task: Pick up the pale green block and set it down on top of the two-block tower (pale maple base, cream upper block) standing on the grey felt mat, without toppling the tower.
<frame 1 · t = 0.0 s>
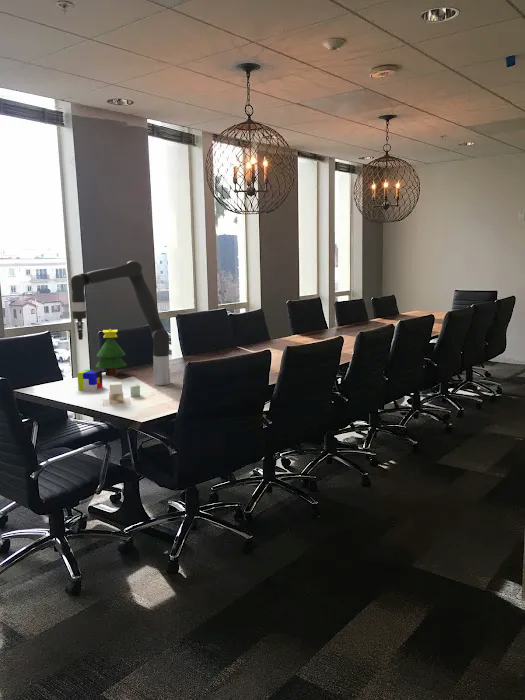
hand: (80, 338, 337), 29 cm above the table, fingers open, 8 cm apart
decorative tree: (111, 375, 380), on the table
tower base: (116, 397, 310), on the felt mat, touching tower mid
pale green block: (135, 396, 323), on the table
tower mid: (116, 392, 309), point 5 cm above the table, touching tower base
felt mat: (116, 402, 310), on the table
puzzle toy: (90, 388, 343), on the table
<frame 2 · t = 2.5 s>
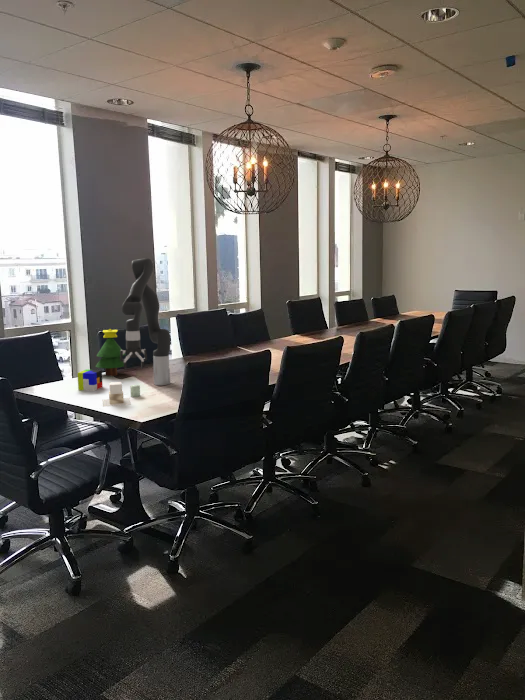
hand: (133, 368, 321), 16 cm above the table, fingers open, 8 cm apart
nothing on the table moved.
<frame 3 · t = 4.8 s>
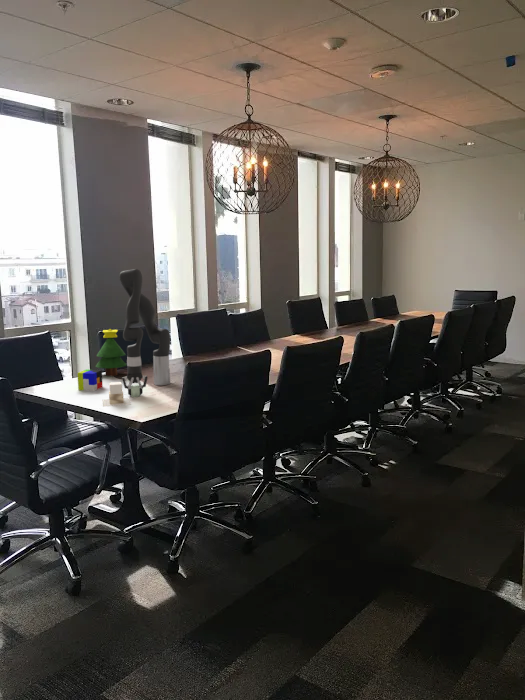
hand: (135, 395, 323), 1 cm above the table, fingers closed on pale green block, 5 cm apart
pale green block: (135, 396, 323), on the table, touching gripper
everything else where it was.
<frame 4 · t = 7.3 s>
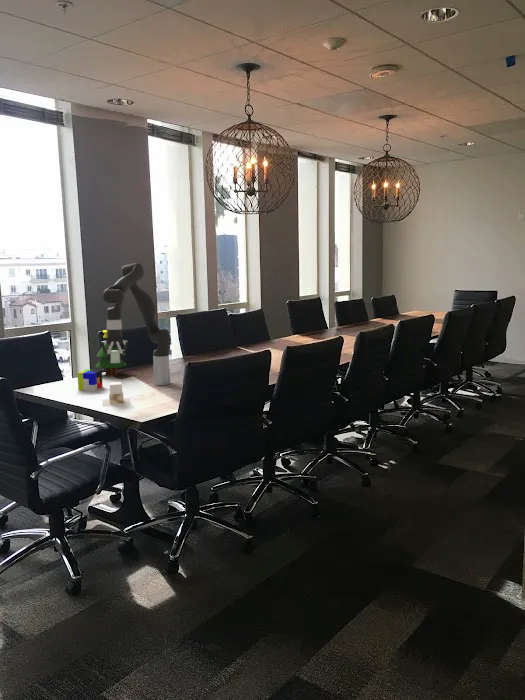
hand: (115, 360, 307), 22 cm above the table, fingers closed on pale green block, 5 cm apart
pale green block: (115, 362, 308), point 21 cm above the table, touching gripper
everything else where it was.
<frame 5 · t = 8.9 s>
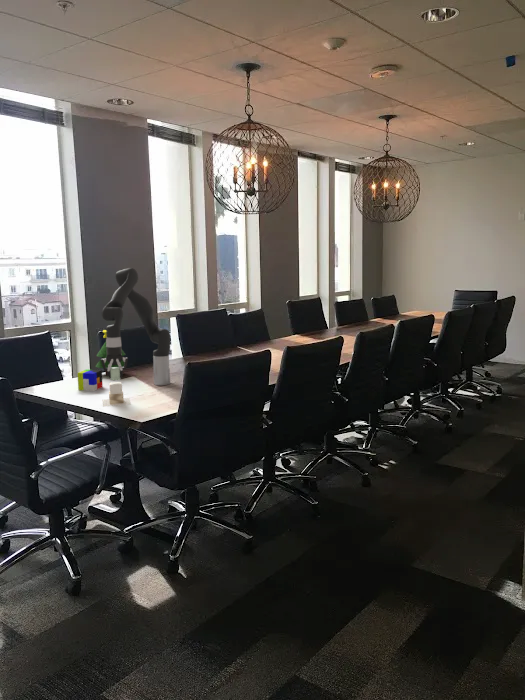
hand: (115, 377, 308), 13 cm above the table, fingers closed on pale green block, 5 cm apart
pale green block: (115, 379, 308), point 12 cm above the table, touching gripper
everything else where it was.
when the fingers open (12 cm above the table, at t = 10.0 s): pale green block moves 1 cm, resting on tower mid.
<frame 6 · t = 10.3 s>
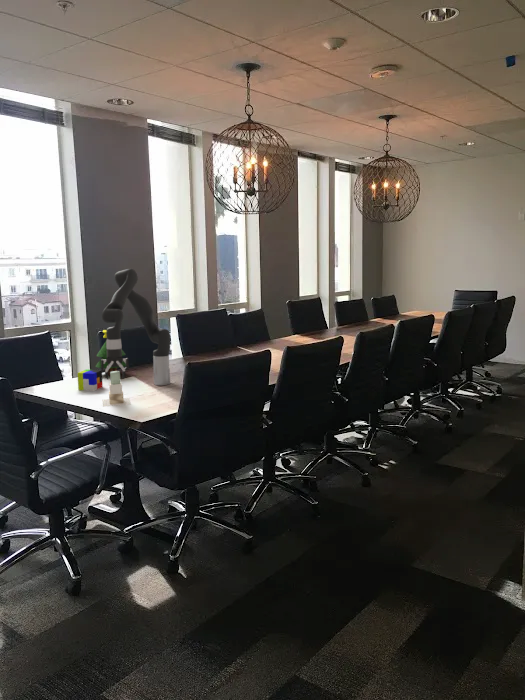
hand: (115, 378, 308), 13 cm above the table, fingers open, 7 cm apart
pale green block: (115, 383, 309), point 10 cm above the table, touching tower mid
tower mid: (116, 392, 309), point 5 cm above the table, touching pale green block, tower base
everything else where it was.
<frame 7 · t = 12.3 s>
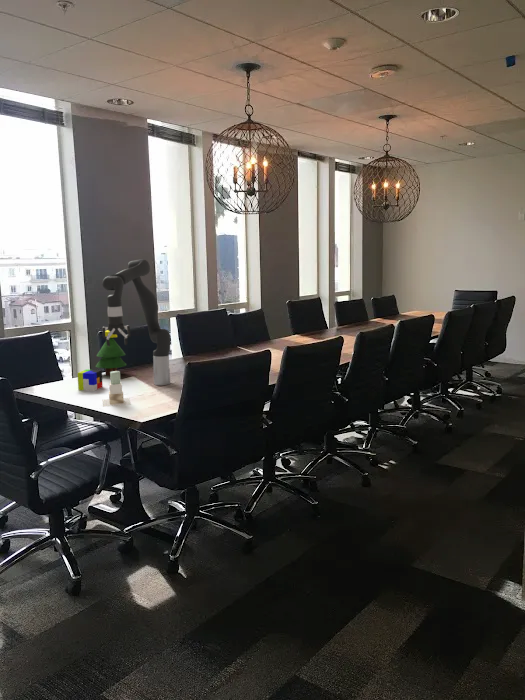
hand: (117, 345, 312), 29 cm above the table, fingers open, 8 cm apart
nothing on the table moved.
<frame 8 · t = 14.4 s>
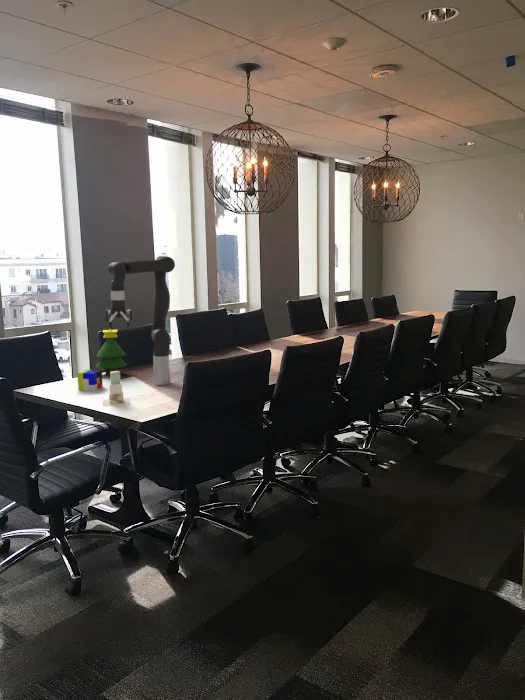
hand: (119, 328, 328), 36 cm above the table, fingers open, 8 cm apart
nothing on the table moved.
at the end: pale green block 0.0 cm off-centre on the tower base, point 10.0 cm above the tower base's base; tower mid tilted 0°; pale green block tilted 0° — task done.
